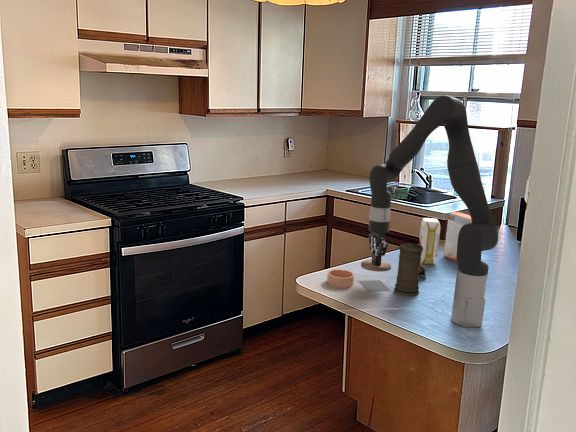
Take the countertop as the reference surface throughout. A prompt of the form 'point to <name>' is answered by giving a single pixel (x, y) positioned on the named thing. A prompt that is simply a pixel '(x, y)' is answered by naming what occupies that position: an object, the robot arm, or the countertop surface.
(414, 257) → the container
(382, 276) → the countertop surface
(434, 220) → the juice carton
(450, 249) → the cracker box
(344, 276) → the bowl
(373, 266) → the lid
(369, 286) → the mat
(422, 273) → the pottery mug
